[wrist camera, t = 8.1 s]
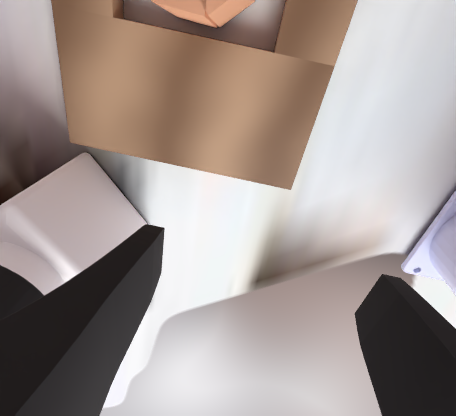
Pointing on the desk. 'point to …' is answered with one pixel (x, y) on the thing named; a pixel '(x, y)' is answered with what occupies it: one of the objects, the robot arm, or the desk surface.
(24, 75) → the desk surface
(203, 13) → the hollow octagonal tube
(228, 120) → the wooden u-shaped block
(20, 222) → the medicine bottle
